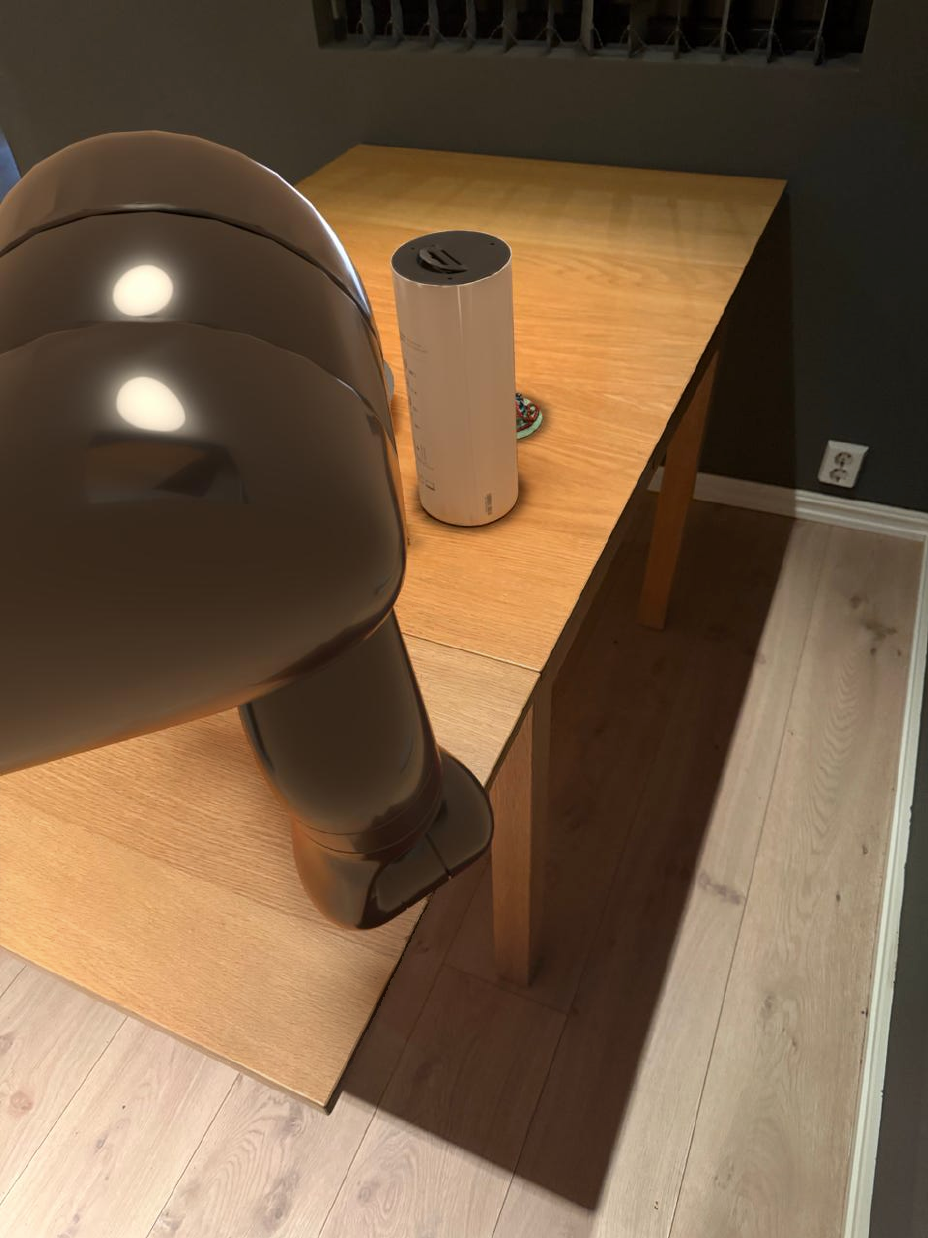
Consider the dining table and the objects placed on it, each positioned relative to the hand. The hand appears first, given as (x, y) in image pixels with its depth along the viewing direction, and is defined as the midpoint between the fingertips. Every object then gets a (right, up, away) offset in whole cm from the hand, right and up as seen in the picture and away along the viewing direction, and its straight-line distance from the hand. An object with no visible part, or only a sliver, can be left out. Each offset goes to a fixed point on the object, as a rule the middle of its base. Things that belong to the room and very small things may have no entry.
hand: (190, 514), depth 67 cm
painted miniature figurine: (+25, +15, +35) cm, 45 cm away
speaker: (+21, +5, +25) cm, 33 cm away
